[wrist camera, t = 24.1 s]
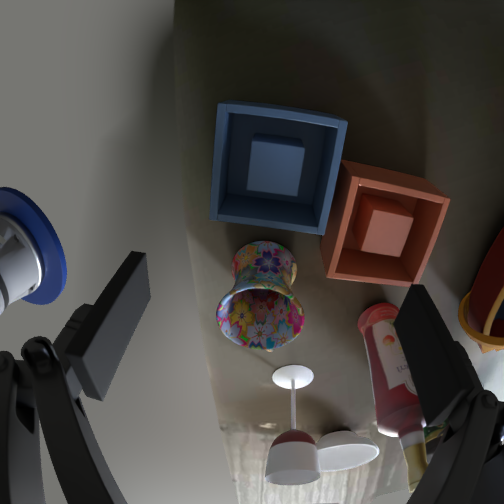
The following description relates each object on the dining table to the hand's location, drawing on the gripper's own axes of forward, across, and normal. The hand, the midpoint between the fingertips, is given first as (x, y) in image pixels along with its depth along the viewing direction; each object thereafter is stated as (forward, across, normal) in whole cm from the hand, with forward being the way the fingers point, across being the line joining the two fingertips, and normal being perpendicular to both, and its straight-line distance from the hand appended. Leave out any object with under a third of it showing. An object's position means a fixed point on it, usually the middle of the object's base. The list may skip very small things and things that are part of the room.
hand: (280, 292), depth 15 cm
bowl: (+23, +25, -62) cm, 71 cm away
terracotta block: (+22, +13, -4) cm, 26 cm away
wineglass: (+23, +8, -37) cm, 44 cm away
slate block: (+22, 0, +1) cm, 22 cm away
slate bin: (+23, 0, +1) cm, 23 cm away
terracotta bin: (+23, +13, -4) cm, 26 cm away
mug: (+23, 0, -15) cm, 27 cm away
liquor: (+23, +18, -20) cm, 36 cm away
